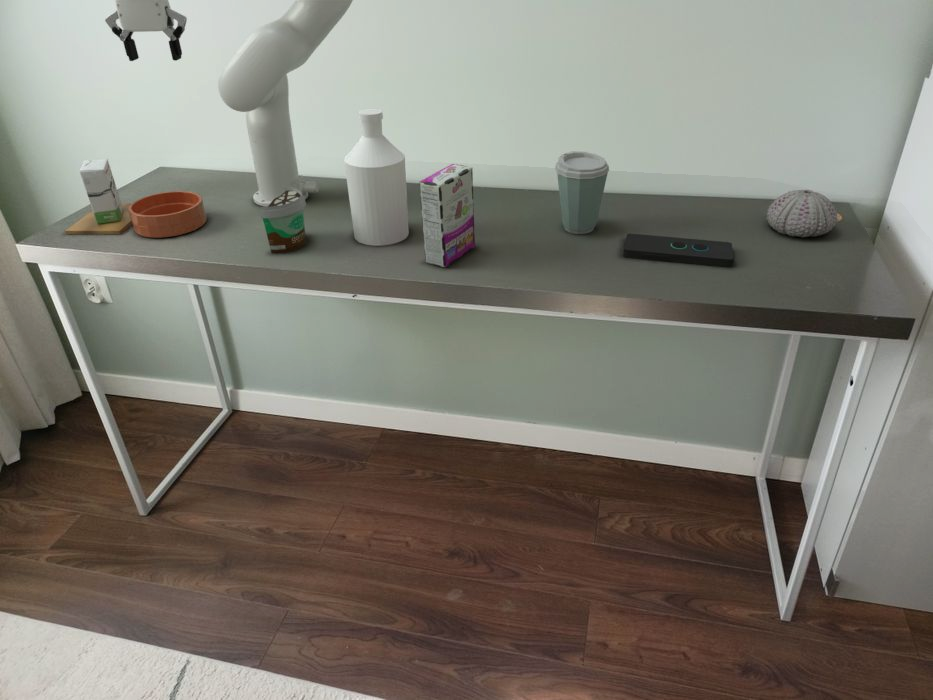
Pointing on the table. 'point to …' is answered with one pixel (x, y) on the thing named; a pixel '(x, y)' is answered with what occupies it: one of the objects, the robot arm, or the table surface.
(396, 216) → the bottle
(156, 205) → the bowl
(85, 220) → the wooden board
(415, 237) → the table surface
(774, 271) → the table surface
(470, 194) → the candy bar box
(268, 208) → the food container
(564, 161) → the disposable coffee cup
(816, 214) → the sea urchin shell
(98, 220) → the ink box
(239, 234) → the table surface
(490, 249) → the table surface
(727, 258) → the smart home device
